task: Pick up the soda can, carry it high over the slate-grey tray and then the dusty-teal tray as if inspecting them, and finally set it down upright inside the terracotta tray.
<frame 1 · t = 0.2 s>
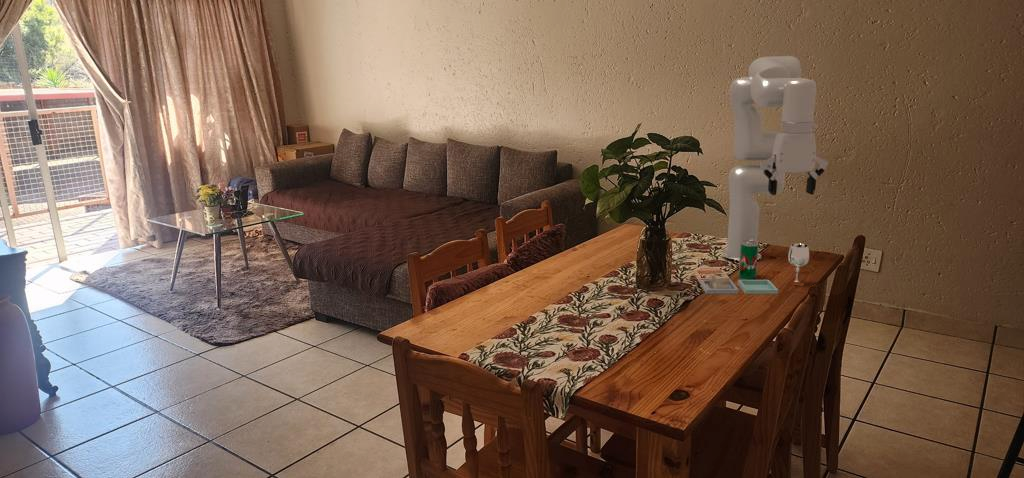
hand: (791, 193, 174), 31 cm above the table, fingers open, 9 cm apart
tray terracotta: (711, 279, 203), on the table
tray slate: (718, 290, 194), on the table
soda can: (747, 279, 203), on the table
wineglass: (796, 284, 197), on the table
tray teal: (757, 290, 193), on the table
letter cube: (718, 288, 193), point 1 cm above the table, touching tray slate
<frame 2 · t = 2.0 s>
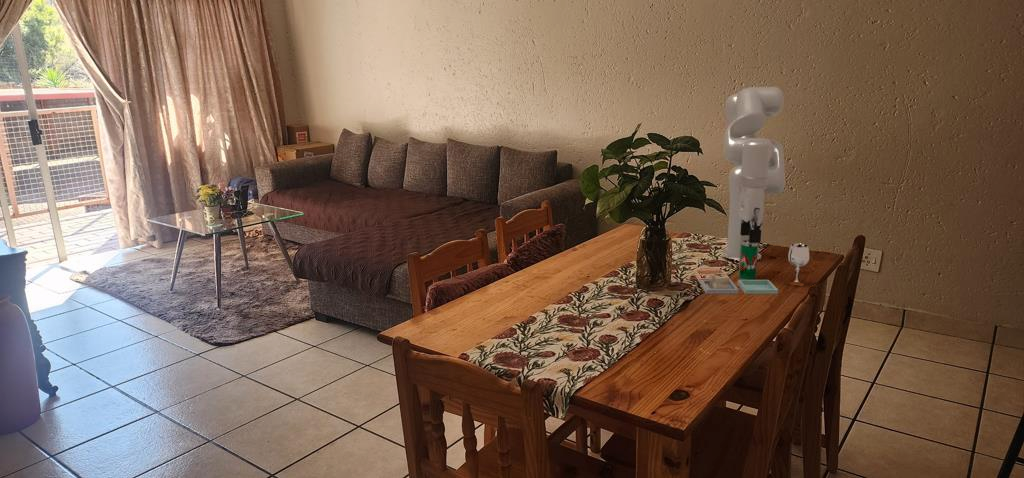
hand: (750, 238, 199), 13 cm above the table, fingers open, 9 cm apart
nothing on the table moved.
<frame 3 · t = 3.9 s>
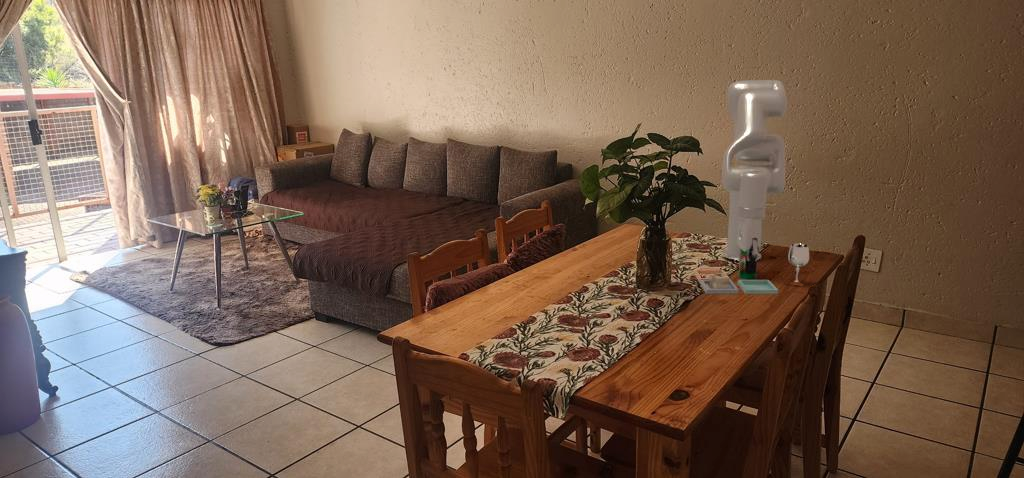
hand: (747, 269, 203), 3 cm above the table, fingers closed on soda can, 5 cm apart
soda can: (747, 279, 203), on the table, touching gripper
everything else where it was.
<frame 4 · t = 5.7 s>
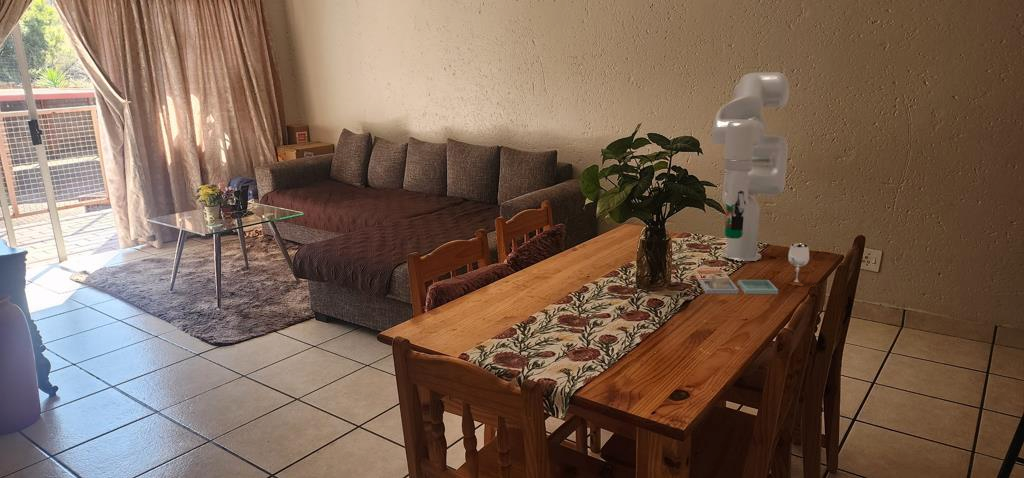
hand: (733, 227, 192), 18 cm above the table, fingers closed on soda can, 5 cm apart
soda can: (733, 237, 193), point 15 cm above the table, touching gripper
everything else where it was.
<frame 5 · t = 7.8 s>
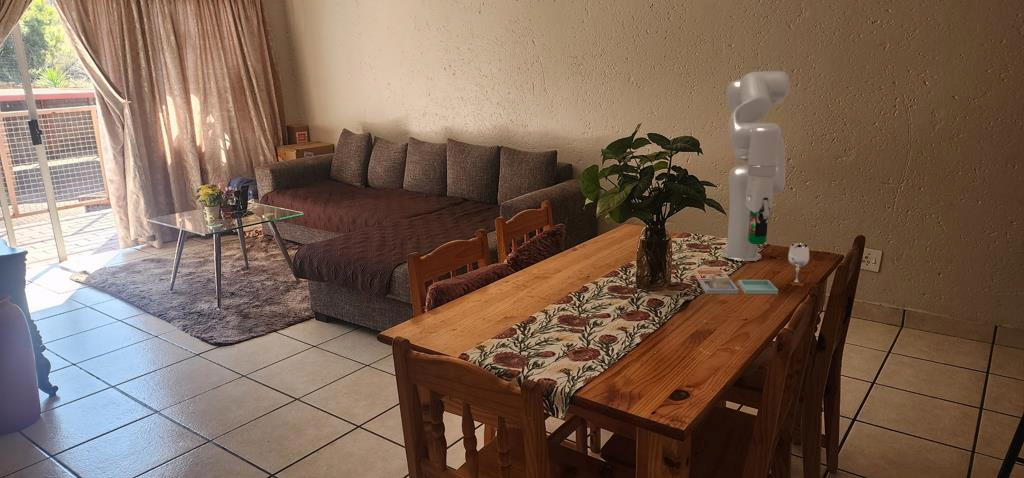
hand: (757, 232, 189), 17 cm above the table, fingers closed on soda can, 5 cm apart
soda can: (756, 243, 190), point 14 cm above the table, touching gripper
everything else where it was.
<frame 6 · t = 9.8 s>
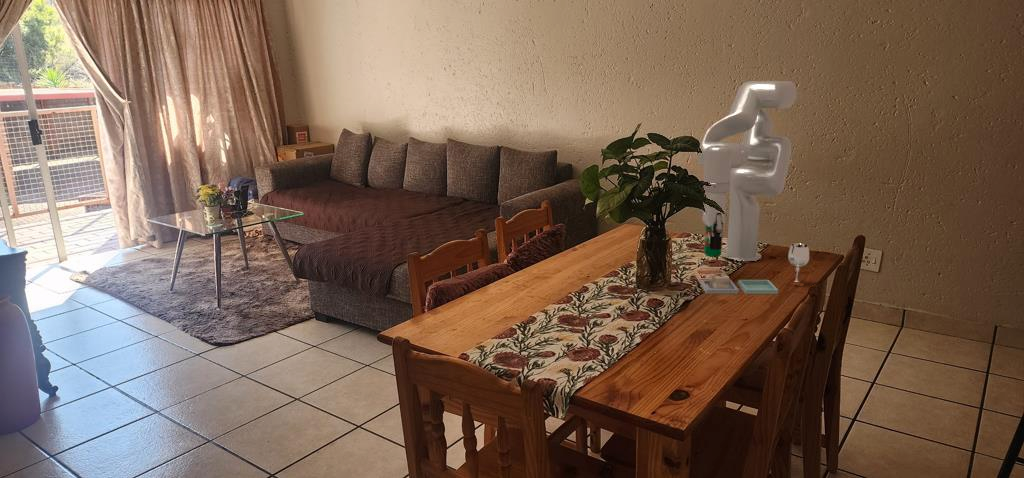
hand: (712, 246, 200), 11 cm above the table, fingers closed on soda can, 5 cm apart
soda can: (712, 255, 201), point 8 cm above the table, touching gripper
everything else where it was.
when the fingers open (5 cm above the table, at t = 11.7 s): soda can drops 1 cm, resting on tray terracotta.
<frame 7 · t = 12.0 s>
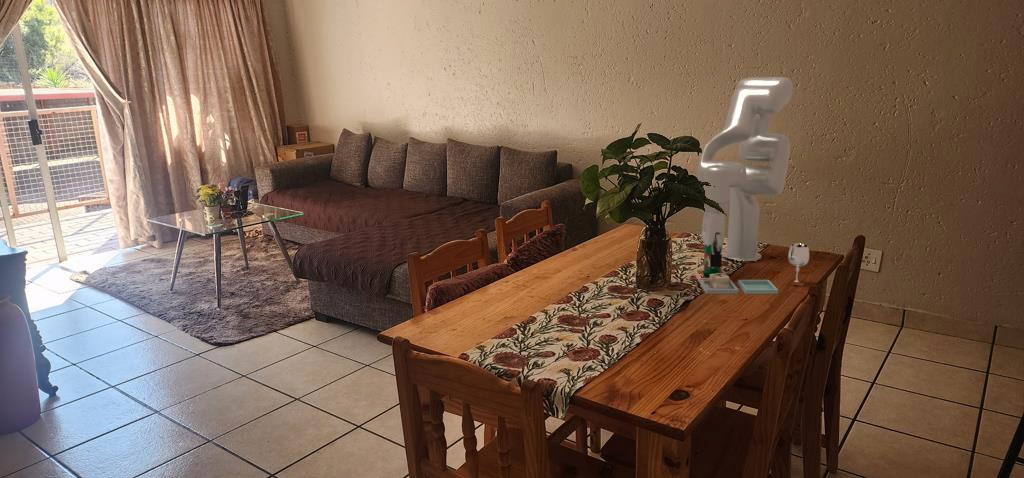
hand: (712, 262, 202), 6 cm above the table, fingers open, 8 cm apart
soda can: (711, 278, 203), resting on tray terracotta
everything else where it was.
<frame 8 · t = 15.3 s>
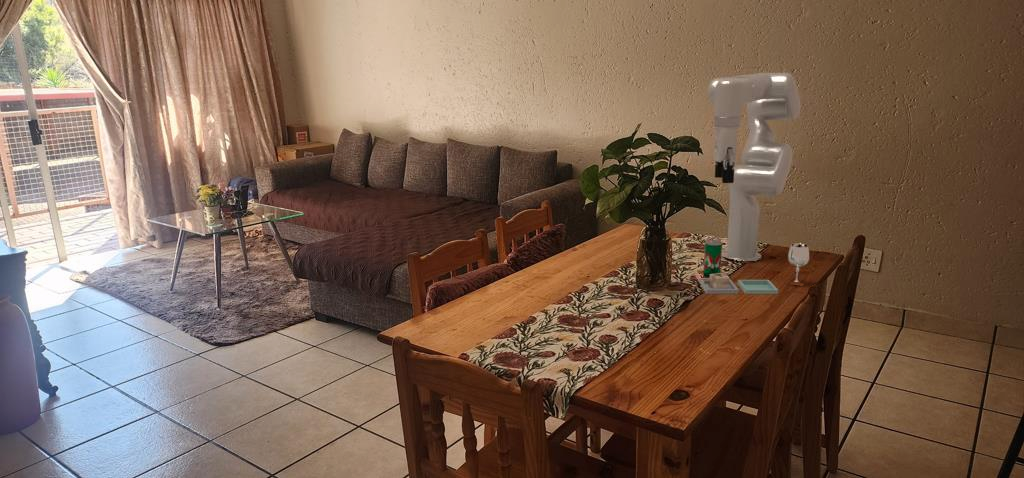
hand: (723, 180, 199), 30 cm above the table, fingers open, 9 cm apart
nothing on the table moved.
at the end: soda can 0.2 cm from the tray terracotta (horizontally); soda can touching tray terracotta; soda can tilted 0° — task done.
